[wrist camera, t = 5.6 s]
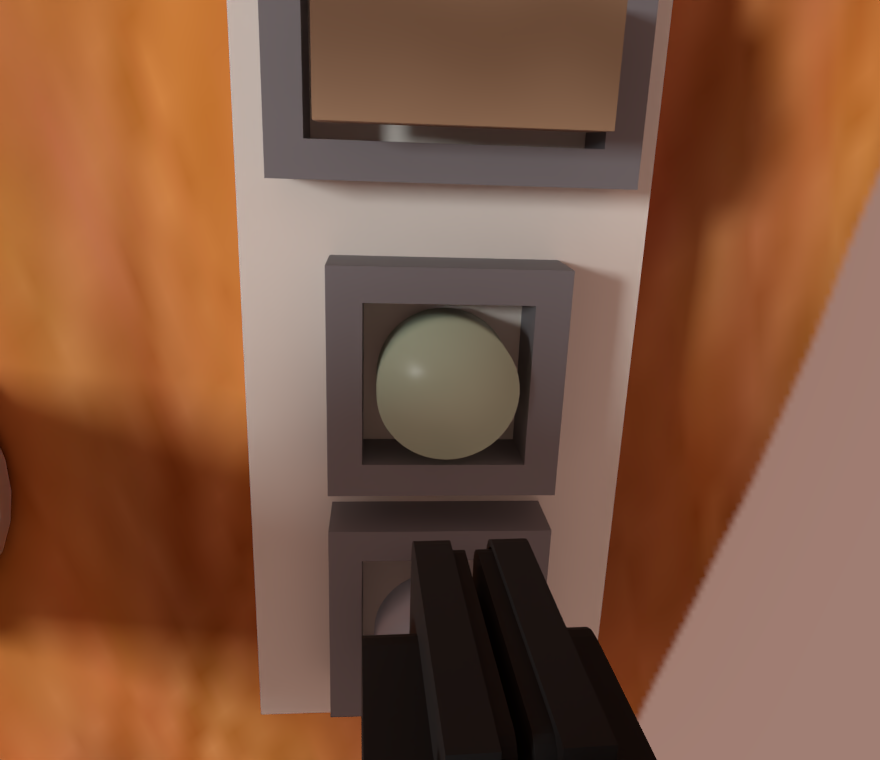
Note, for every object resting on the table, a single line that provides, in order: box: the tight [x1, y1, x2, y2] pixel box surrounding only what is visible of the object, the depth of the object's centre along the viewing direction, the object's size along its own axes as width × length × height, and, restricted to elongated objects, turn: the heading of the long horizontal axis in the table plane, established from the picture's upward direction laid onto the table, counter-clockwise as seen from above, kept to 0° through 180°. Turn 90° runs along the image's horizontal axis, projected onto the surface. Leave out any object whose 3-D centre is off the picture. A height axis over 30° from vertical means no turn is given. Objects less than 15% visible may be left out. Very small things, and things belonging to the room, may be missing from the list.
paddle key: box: [310, 0, 628, 133], centre depth 17 cm, size 3×7×2 cm, turn 88°
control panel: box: [227, 0, 673, 717], centre depth 23 cm, size 26×12×5 cm, turn 178°
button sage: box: [376, 307, 520, 460], centre depth 21 cm, size 4×4×2 cm
